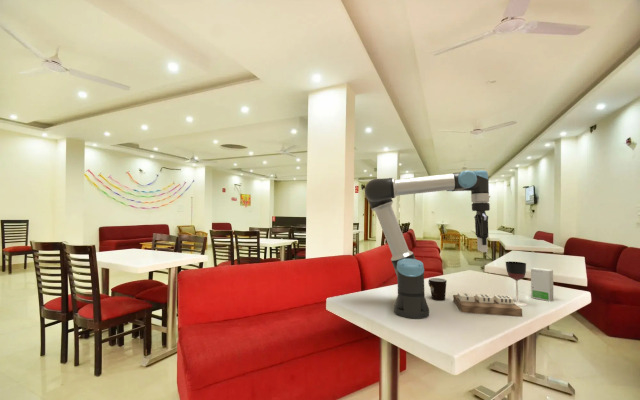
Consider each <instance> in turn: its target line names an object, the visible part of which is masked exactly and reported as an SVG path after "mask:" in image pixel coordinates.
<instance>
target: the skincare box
mask: <svg viewBox="0 0 640 400" xmlns="http://www.w3.org/2000/svg"><path fill="white" fill-rule="evenodd" d="M530 284H531V285H530V287H531V288H530V291H531V293H530V294H531V295H530V296H531V298H532V299H536V300H541V301H546V302H549V301H550V302H552V301H554V270H553V269H549V268H541V267H531V268H530Z"/></svg>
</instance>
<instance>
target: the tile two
mask: <svg viewBox="0 0 640 400" xmlns="http://www.w3.org/2000/svg"><path fill="white" fill-rule="evenodd" d="M475 296H476V300H477V301H478V302H479V303H494V298H493V297H494V296H492V295H491V294H483V293H475Z"/></svg>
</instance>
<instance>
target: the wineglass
mask: <svg viewBox="0 0 640 400" xmlns="http://www.w3.org/2000/svg"><path fill="white" fill-rule="evenodd" d="M505 269H506V273H507V275H508V277H509V278H511V279H513V280H514V281H515V292H516V293H515V294H516V295H515V297H516V300H515V301H514V300H513V302H514V304H516V305H517V306H518V307H520V306H521V307H524V306H527V305H528V304H527V303H525V302H522V301H520V300H519V284H518V281H521V280H522V279H524V278H525V276H526V274H527V272H526V271H527V263H525V262H521V261H511V260H510V261H505Z"/></svg>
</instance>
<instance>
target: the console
mask: <svg viewBox="0 0 640 400" xmlns="http://www.w3.org/2000/svg"><path fill="white" fill-rule="evenodd" d="M473 296H474V297H475V302H463V301H460V300H459V299H458V294H453V303H454V304H455V305H456V306H457V308H458V310H459V312H461V313H464V314H465V313H466V314H480V315H493V316H507V317H520V318H521V317H523V308H521V307H520V306H519V305H516V304H514V305H512V304H499V303H497V302H496V301H495V300H494V303H479V302H478V301H477V300H476V295H473ZM492 297H493V298H494V296H492Z"/></svg>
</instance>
